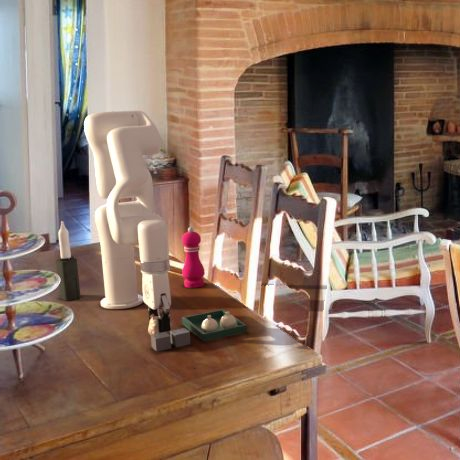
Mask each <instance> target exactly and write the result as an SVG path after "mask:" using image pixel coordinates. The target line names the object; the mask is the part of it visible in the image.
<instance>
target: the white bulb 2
mask: <svg viewBox="0 0 460 460" xmlns="http://www.w3.org/2000/svg"><path fill="white" fill-rule="evenodd" d="M226 311H227V310H226ZM229 313H230V311H227V312H226V315H224V316H223V317H222V318H221V320H220V325H221V327H222V328H223V329H226V328H231V327H235V325H236V319H235V317H236V316H234V315H233V316H232V314H231V313H230V314H231V315H230V314H229Z"/></svg>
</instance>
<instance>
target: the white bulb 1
mask: <svg viewBox="0 0 460 460" xmlns="http://www.w3.org/2000/svg"><path fill="white" fill-rule="evenodd" d="M217 328H218V323H217V322H216V320H214V319H212V318H211V315H208V316H207V319H206V320H204V321H203V323H202V330H203V332H205V333H207V332H212V331H216V330H217Z"/></svg>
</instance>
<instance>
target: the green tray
mask: <svg viewBox="0 0 460 460" xmlns="http://www.w3.org/2000/svg"><path fill="white" fill-rule="evenodd" d="M226 312H227V310H226V309H224V308H221V309H217V310H212V311H207V312H202V313H201V312H200V313H197V314H192V315H187V316H182V317H181V324H182V325H183V326H184V328H186V329H187V330H188V331H189V332H191V333H193V334H194V335H195V336H196V337H198V339H200V340H201V341H203V342H207V341H208V342H209V341H212V340H216V339H222V338H225V337H231V336H234V335H239V334H243V333H247V332H248V325H247V324H246V323H244V322H243V321H242V320H241V319H238V318H237V317H236V316H234V314H233V315H232V314H231V312H229V314H230V315H232V316H234V317H235V319H236V325H235V327H231V328H226V329H223V328H222V327H221V325H220V320H221V318H222V317H223V316H224V315H226ZM208 315H211V318H212V319H214V320H216V322H217V323H218V328H217V330H216V331H212V332H207V333H205V332H203V330H202V323H203V321H204V320H206V319H207V316H208Z"/></svg>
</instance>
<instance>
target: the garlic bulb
mask: <svg viewBox="0 0 460 460" xmlns="http://www.w3.org/2000/svg"><path fill="white" fill-rule="evenodd" d="M150 317H152V318H151V319H150V323H149V322H148V323H149V324H148V328H147V332H148V334H149V335H150V336H151V335H152V334H157V333H159V332H158V318H159V317H158V316H154V315H153V314H152V315H151V316H150ZM170 327H171V330H173V324H172V322H171V321H170ZM171 330H170V331H171ZM170 331H167V332H166V333H168V334H169V335H170Z"/></svg>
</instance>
